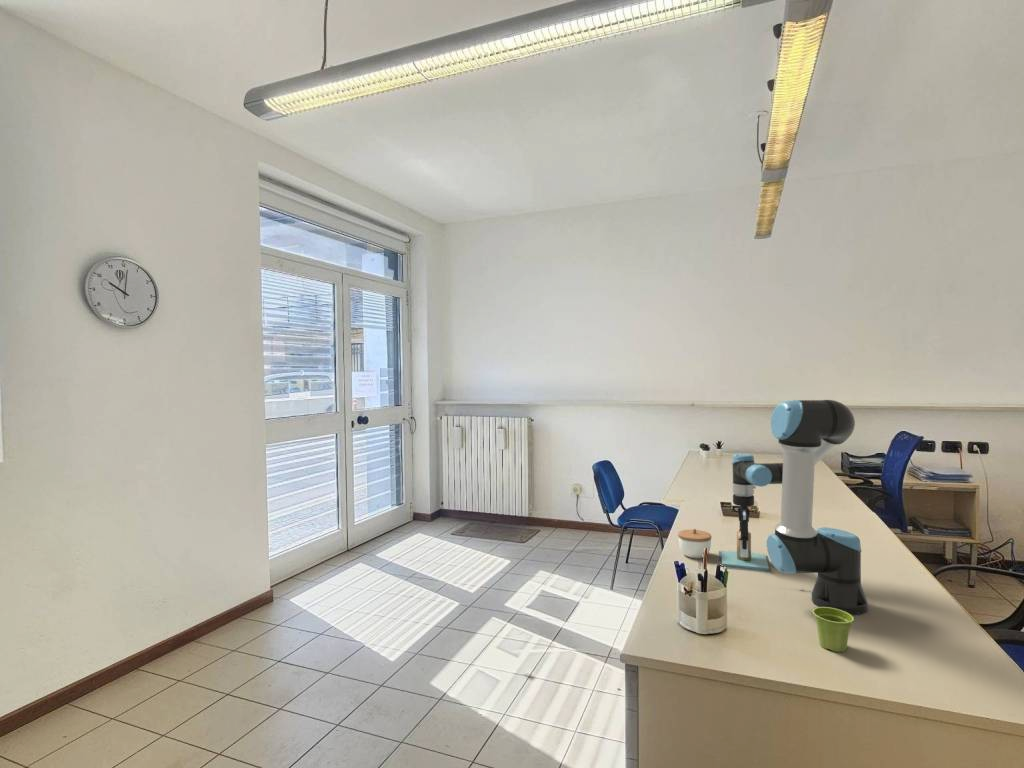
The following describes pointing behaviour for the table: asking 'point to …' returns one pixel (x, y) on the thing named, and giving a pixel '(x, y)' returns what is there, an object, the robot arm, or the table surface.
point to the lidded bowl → (694, 542)
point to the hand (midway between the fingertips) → (744, 554)
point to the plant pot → (833, 627)
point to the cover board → (745, 564)
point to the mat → (744, 568)
